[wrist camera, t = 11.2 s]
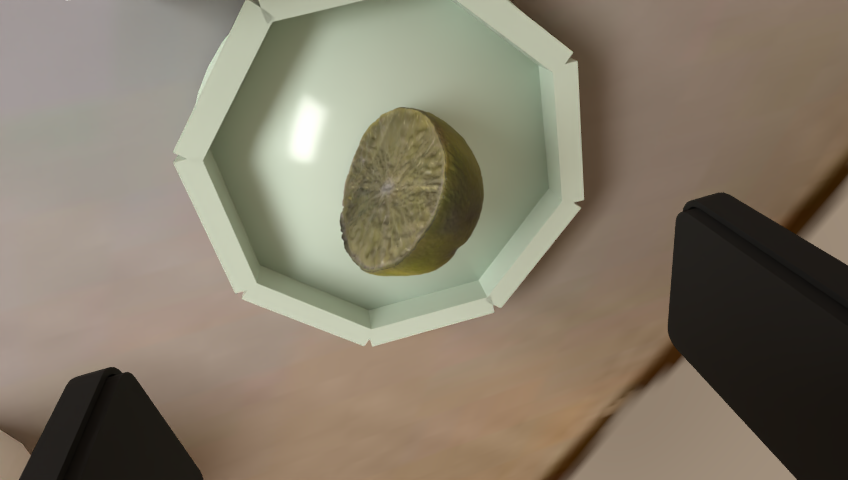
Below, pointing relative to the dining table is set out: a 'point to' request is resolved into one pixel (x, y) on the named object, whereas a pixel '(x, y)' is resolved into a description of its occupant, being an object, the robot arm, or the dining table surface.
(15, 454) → the white cylinder
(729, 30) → the dining table surface
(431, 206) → the lime
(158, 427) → the robot arm
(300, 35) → the dish
